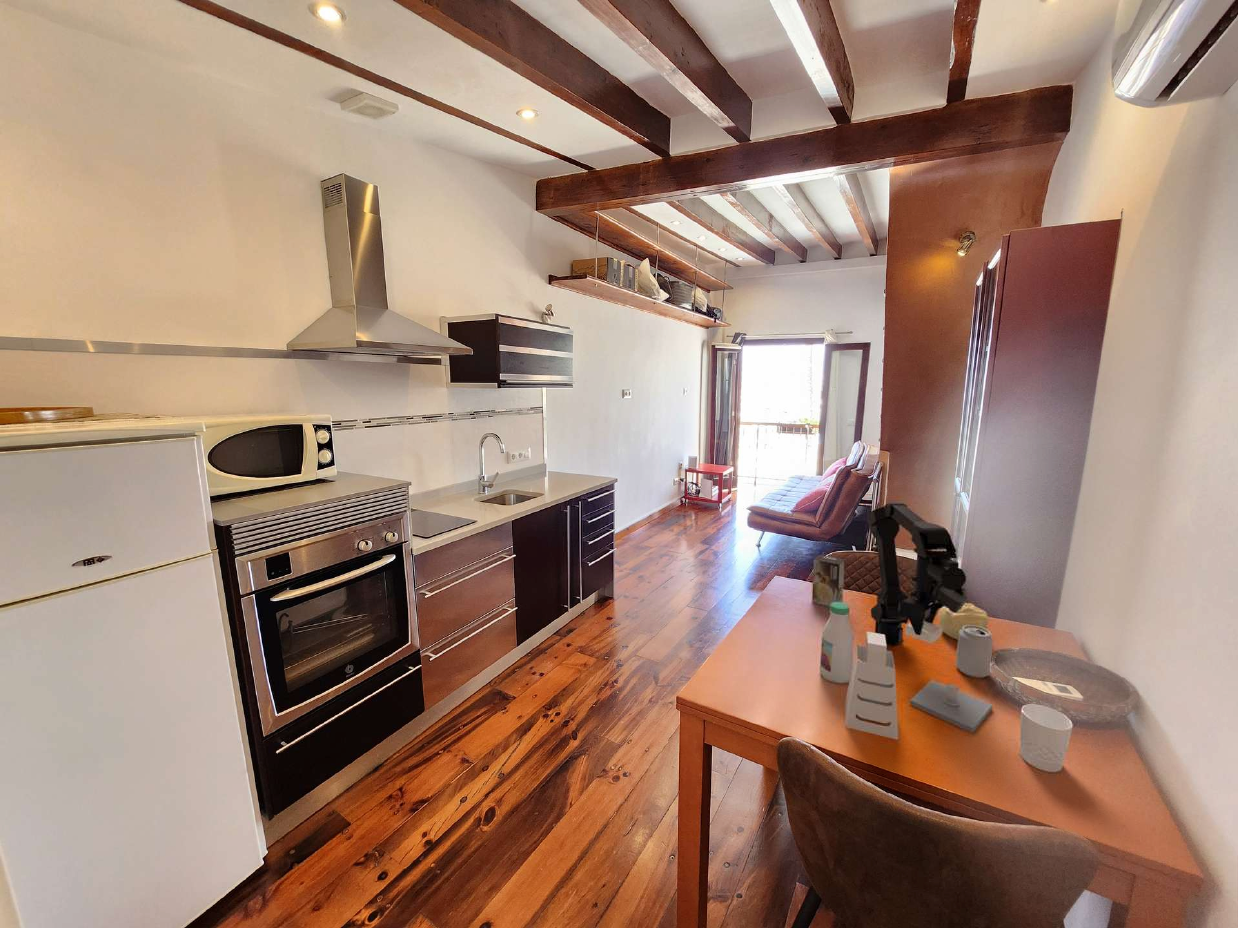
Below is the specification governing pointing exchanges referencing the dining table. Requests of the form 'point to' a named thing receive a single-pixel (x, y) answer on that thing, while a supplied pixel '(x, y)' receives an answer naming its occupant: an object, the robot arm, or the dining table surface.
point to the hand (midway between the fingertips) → (923, 630)
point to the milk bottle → (837, 645)
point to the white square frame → (925, 632)
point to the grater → (873, 688)
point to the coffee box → (827, 580)
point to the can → (974, 651)
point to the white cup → (1044, 737)
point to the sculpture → (961, 619)
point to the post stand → (951, 705)
